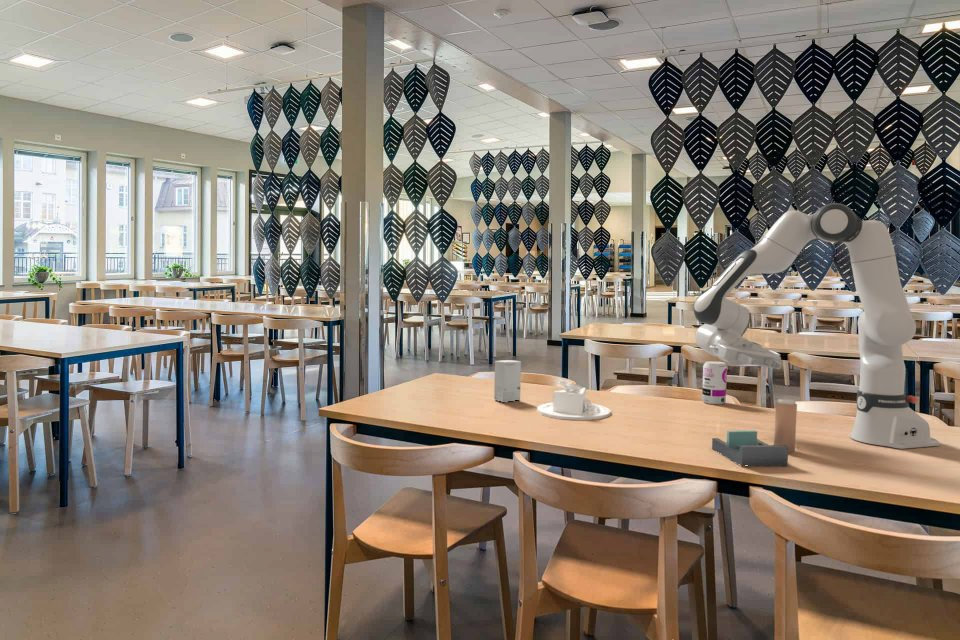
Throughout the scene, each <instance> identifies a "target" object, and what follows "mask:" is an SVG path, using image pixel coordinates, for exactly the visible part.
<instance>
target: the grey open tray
mask: <svg viewBox="0 0 960 640" xmlns="http://www.w3.org/2000/svg"><path fill="white" fill-rule="evenodd" d="M711 441H712V442H711V450H713V451H715V452H716V451H717V452H716V453H718V452H719V453H718V454H720V453H721V454H722V455H721V454H720V455H721V456H723V455H724V456H726V457H728V458H729V459H731V460H733V461H734V462H736V463H738V464H740V465H741V466H745V465H748V466H768V467H788V464H789V462H788V461H789V454H788V446H786V445H774V444H768V443H767V442H764V441H763V440H760V439H758V438H757V445H747V446H740V447H739V450H738V449H736V448H735V447H733V446H731V445H729V444H727V441H724V440H722V439H720V438H718V437H712V440H711ZM724 456H723V457H724ZM726 457H725V458H726ZM728 458H727V459H728ZM729 459H728V460H729ZM731 460H730V461H731ZM733 461H732V462H733ZM734 462H733V463H734ZM736 463H735V464H736ZM738 464H737V465H738ZM741 466H740V467H741Z"/></svg>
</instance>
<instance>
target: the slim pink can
mask: <svg viewBox="0 0 960 640" xmlns="http://www.w3.org/2000/svg"><path fill="white" fill-rule="evenodd" d="M796 401H797V400H795V399H792V398H783V397H782V398H778V399H777V401H776V402H775V409H774V410H775V413H774V414H775V415H774V416H775V417H774V431H773V433H774V437H773V445H786V446H788V455H789V454H790V453H791V454H795V453H794V452H796V434H797V430H796V429H797V416H798V415H797V413H798V404H797V403H796Z"/></svg>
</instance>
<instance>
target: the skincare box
mask: <svg viewBox="0 0 960 640" xmlns="http://www.w3.org/2000/svg"><path fill="white" fill-rule="evenodd" d="M521 373H522V361H521V360H515V359H513V360H512V359H509V360H507V359H506V360H503V359H501V360H494V387H493V388H494V390H493V391H494V393H493V394H494V395H493V396H494V397H493V400H494V399H495V400H494V401H496V400H498V401H497V402H499V401H501V402H500V403H502V402H505V403H509V402H508V401H513V402H516V401H515V400H520V401H521V384H522V383H521V381H522V379H521V378H522V374H521Z"/></svg>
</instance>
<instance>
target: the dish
mask: <svg viewBox="0 0 960 640" xmlns="http://www.w3.org/2000/svg"><path fill="white" fill-rule="evenodd" d="M558 383H559V385H560V387H562V388H563V389H560V390H553V391H552V392H553V393H552V402H546V403H542V404H540V405H537V407H536V412H537V413H538V414H539V413H540V414H539V415H541V416H543V415H544V416H545V417H547V416H548V417H547V418H552V419H559V420H565V419H566V420H567V421H591V420H592V419H595V420H600V419H601V418H602V419H605V418H608V417H609V416H611V413H612V412H611V409H610V408H608V407H605V406H604V405H600V404H595V403H593V402H591V400H590V399H588V398H587V397H586V396H587V395H586V393H587V392H586V391H587V390H586V388H587V387H582V386H581V385H579V384H576V383H569V384H567V382H566V381H565V380H562V379H559V380H558ZM566 420H565V421H566Z"/></svg>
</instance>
